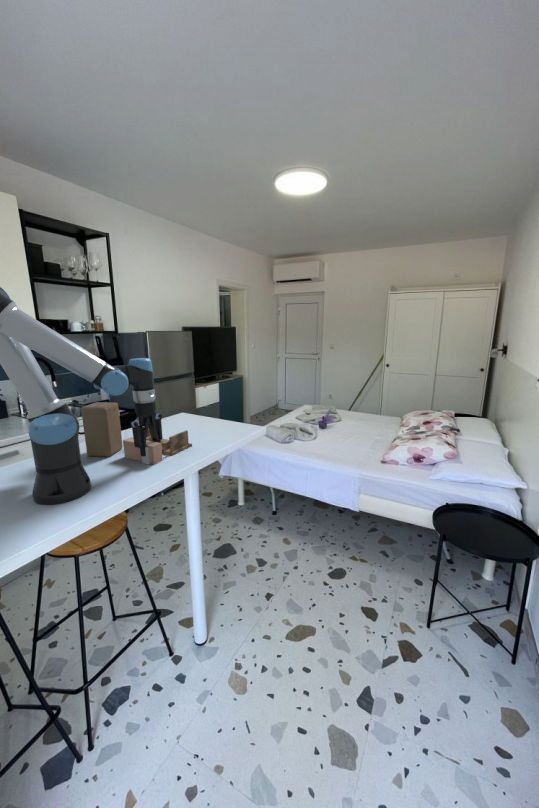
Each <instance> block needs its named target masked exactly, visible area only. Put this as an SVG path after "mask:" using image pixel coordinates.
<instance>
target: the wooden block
mask: <svg viewBox="0 0 539 808" xmlns="http://www.w3.org/2000/svg"><path fill="white" fill-rule="evenodd" d="M80 413H81V418H82V426H83V432H84V439H85V440H84V441H85V447H86V456H89V457H109V458H110V457H112V456H114V455H115V454H116V453H118V452H119V451H120V450H123V448H124V446H123V438H122V428H121V419H120V408H119V404H118V402H104V401H103V402H102V401H101V402H100V401H99V402H98V401H97V402H93V403H90V404H88V405H85V406H82V407H81V409H80Z"/></svg>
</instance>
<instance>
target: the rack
mask: <svg viewBox="0 0 539 808" xmlns="http://www.w3.org/2000/svg"><path fill="white" fill-rule="evenodd" d="M146 440H148V441H152V437H151V434H150V431H149V427H148V429H147V437H146ZM160 440H161V442H160V443H161V448H162V455H163V454H164V455H169V456H174V455H177V454H179V453H181V452H183V451H185V450H186V449H189V448H190V447H193V444H192V443H190V442H189V432H188V430H187V429H186V430H184V431H181V432H179V433H176V434H174V435H171V436H168V439H165V438H162V439H160Z"/></svg>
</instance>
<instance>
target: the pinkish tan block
mask: <svg viewBox="0 0 539 808" xmlns="http://www.w3.org/2000/svg"><path fill="white" fill-rule="evenodd" d="M122 445H123V455H124V458H126V459H130V460H134V461H139V462H142V463H143V461H142V456H141V454H140V448H137V447H135V446H134V439H133V436H132V437H128V438H126V439H122ZM142 445H143V444H142ZM146 447H148V453H149V462H150V463H149V464H151V465H156V464H158V463H161V462H163V453H162V448H161V443H158V442H153V441H148V440H146Z"/></svg>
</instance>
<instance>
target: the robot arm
mask: <svg viewBox="0 0 539 808" xmlns="http://www.w3.org/2000/svg"><path fill="white" fill-rule="evenodd" d="M31 350H33V351H34V352H36V353H37V354H40V355H41V356H43V357H44V358H47V359H48V360H50V361H51V362H53V363H56V364H58V365H59V366H60V367H62V368H65V369H66V370H68V371H69V372H72V373H73V374H75V375H76V376H78V377H80V378H82V379H85V380H86V381H88V382H90V383H91V384H93V387H94V389H96V390H102V391H104V393H106V394H108V395H110V396H114V397H115V396H121V395H123V394H124V393H125V392H126V391H127V390H128V388H129V387H131V389H132V399H133V402H134V403H133V407H134V408H133V409H134V413H135V415H136V417H135V420H134V421H130V422H129V425H130V427H131V430H132V437H133V439H134V446H135V447H137V448H140V454H141V456H142V461H143V462H142V461H141V462H142V464H146V465H149V464H150V462H149V453H148V447H146V437H147V429H148V427H149V431H150V434H151V437H152V441H153V442H158V443H160V442H161V440H160V439H164V437H163V426H162V425H163V424H162V419H163V418H162V417H163V414H162V413H157V412H156V411H157V402H156V391H155V380H154V371H153V364H152V360H151V358H148V357H138V358H137V357H136V358H130V359H129V361H128V364H124V365H111V364H109V363H108V362H106V361H105V360H103V359H101V358H99V357H98V356H97V355H94V354H93V353H91V352H90V351H88V350H87V349H85V348H83V347H81V346H80V345H78V344H76V343H75V342H74V341H72V340H70V339H69V338H67V337H66V336H63V335H62V334H60V333H59V332H57V331H55V330H54V329H52V328H50V327H49V326H47V325H45V324H44V323H42V322H41V321H39V320H37V319H36V318H34V317H33V316H31V315H29V314H28V313H26V312H25V311H23V310H21V309H19V308H18V306H17V302H16V301H14V300H12V299H11V297H10V296H9V294H8V293H7V292H6V291H5V289H4V288H2V287H1V286H0V366H1V367H2V369H3V370H4V372H5V374H6V375H7V377H8V379H9V381H10V382H11V383H12V385H13V387H14V388H15V390H16V391H17V394H18V395H19V397H20V398H21V400H22V402H23V403H24V405H25V407H26V408H27V410H28V413H27V415H26V419H27V421H28V422H29V424H28V436H29V438H30V443H31V448H32V449H31V450H32V457H33V461H34V467H35V478H34V483H33V487H32V488H33V489H32V493H31V494H32V500H33V502H34V503H36V504H38V505H45V506H46V505H56V504H62V503H67V502H71V501H74V500H75V499H79V498H81V497H82V496H84V495H86V494H87V493H89V491H91V489H92V481H91V478H90V476H89V474H88V473H87V471H86V469H85V468H84V466H83V464H82V458H81V457H82V456H81V451H80V449H81V447H80V442H79V441H80V440H79V434H80V433H79V432H80V421H79V420H78V417H77V416H76V415H75V414H74V413H73V412H72V411H71V409H70V407H69V405H68V403H67V401H65V400H62V399H59V398H58V396H57V395H56V392H55V391H54V390H53V388H52V386H51V384H50V382H49V380H48V379H47V377H46V376H45V373H44V372H43V370H42V368H41V366H40V364H39V363H38V362H37V359H36V357H35V356H34V354H33V352H32V351H31ZM142 444H143V445H142Z"/></svg>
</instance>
